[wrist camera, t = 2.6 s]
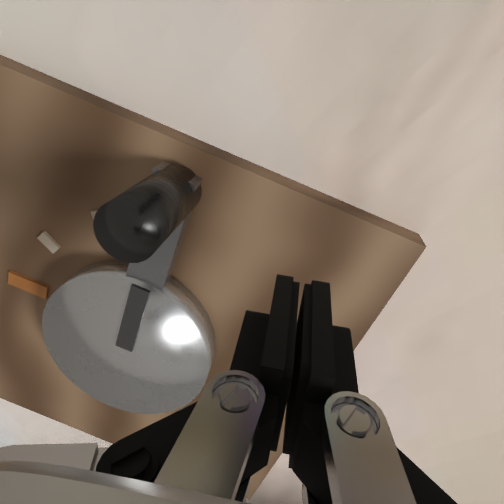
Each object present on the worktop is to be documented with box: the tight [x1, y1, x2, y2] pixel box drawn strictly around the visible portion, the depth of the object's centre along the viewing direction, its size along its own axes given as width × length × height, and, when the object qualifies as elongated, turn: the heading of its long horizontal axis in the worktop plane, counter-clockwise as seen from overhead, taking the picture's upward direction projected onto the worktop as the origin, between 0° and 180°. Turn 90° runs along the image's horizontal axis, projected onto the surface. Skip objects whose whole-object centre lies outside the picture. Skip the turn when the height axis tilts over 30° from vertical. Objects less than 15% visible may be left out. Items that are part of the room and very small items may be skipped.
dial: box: [42, 161, 216, 414], centre depth 19 cm, size 16×10×6 cm, turn 159°
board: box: [0, 55, 426, 499], centre depth 24 cm, size 24×24×2 cm
